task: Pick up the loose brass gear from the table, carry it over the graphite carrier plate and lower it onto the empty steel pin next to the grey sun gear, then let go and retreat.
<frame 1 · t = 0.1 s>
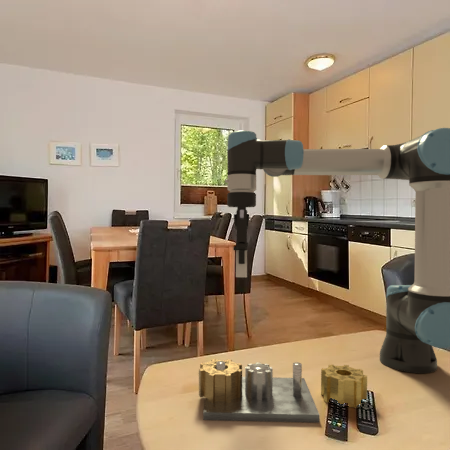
hand: (241, 273, 98), 28 cm above the table, fingers open, 13 cm apart
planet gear: (343, 398, 88), on the table
carrier: (258, 400, 86), on the table
seated gear: (220, 392, 87), resting on carrier
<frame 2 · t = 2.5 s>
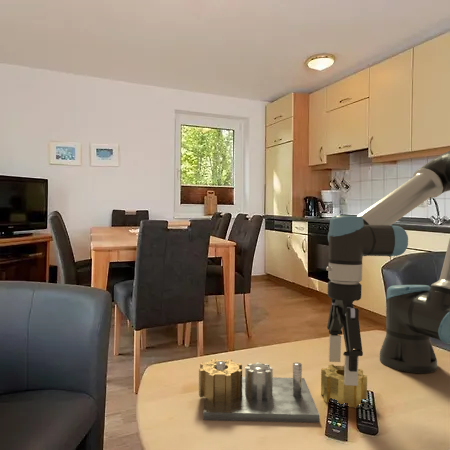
hand: (342, 372, 87), 6 cm above the table, fingers open, 13 cm apart
nothing on the table moved.
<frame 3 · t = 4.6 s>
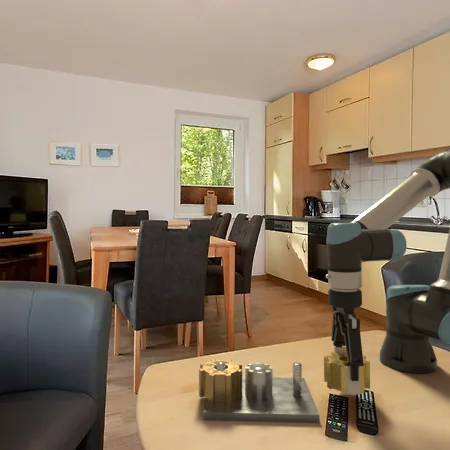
hand: (346, 382, 88), 3 cm above the table, fingers closed on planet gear, 10 cm apart
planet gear: (346, 384, 88), point 3 cm above the table, touching gripper
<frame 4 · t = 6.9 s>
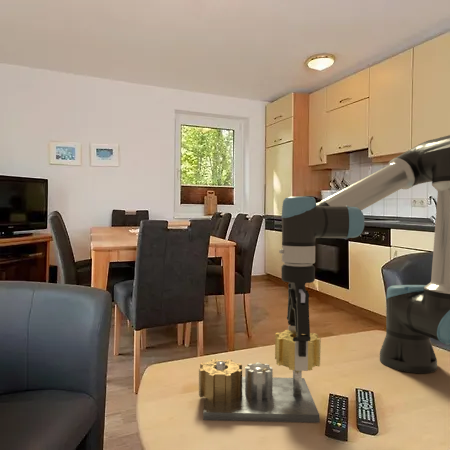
hand: (297, 360, 86), 9 cm above the table, fingers closed on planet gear, 10 cm apart
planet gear: (297, 361, 86), point 9 cm above the table, touching gripper
when the fingers open (4 cm above the table, at t = 9.0 s): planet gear drops 2 cm, resting on carrier.
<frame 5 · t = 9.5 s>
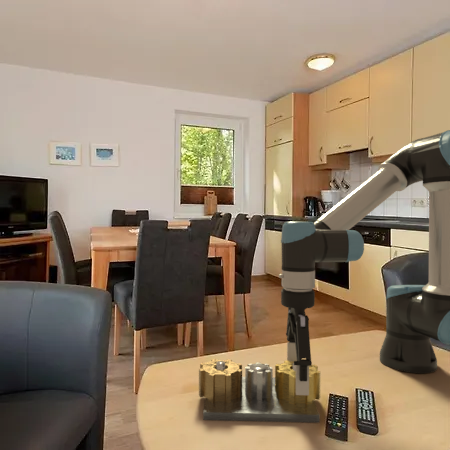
hand: (297, 380, 86), 5 cm above the table, fingers open, 13 cm apart
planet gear: (297, 394, 86), point 2 cm above the table, touching carrier
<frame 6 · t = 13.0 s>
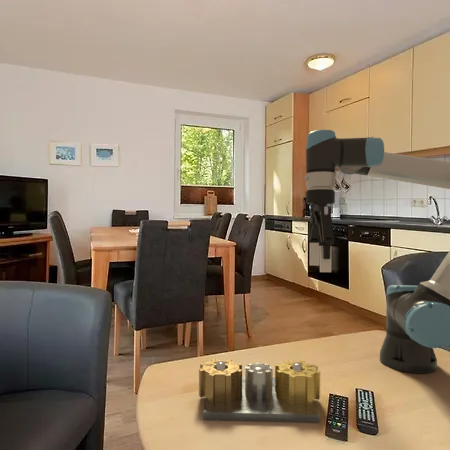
hand: (319, 268, 100), 29 cm above the table, fingers open, 13 cm apart
nothing on the table moved.
at the end: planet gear 0.1 cm from the target spot on the carrier, point 1.6 cm above the carrier's base; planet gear tilted 0°; the gripper is holding nothing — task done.
